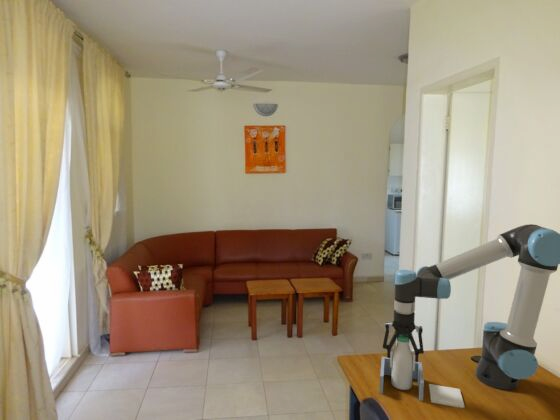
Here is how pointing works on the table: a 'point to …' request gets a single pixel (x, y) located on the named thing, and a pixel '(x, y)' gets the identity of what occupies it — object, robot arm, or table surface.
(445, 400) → the tile
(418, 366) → the grey u-shaped piece
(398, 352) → the milk bottle
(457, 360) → the table surface
